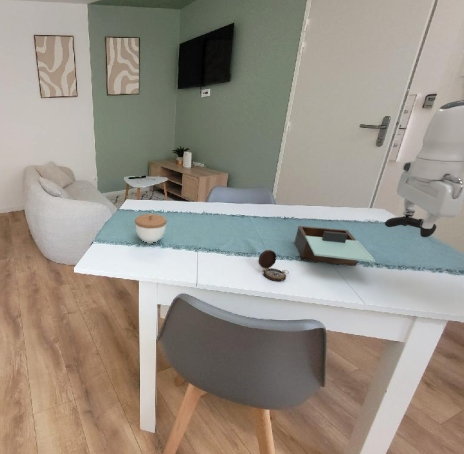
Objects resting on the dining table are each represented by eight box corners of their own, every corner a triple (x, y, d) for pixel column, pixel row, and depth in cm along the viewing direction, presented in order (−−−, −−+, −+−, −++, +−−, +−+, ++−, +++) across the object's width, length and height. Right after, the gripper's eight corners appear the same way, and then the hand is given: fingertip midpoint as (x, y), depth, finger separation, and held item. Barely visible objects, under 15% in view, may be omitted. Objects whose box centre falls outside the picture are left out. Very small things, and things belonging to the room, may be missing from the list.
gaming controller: (382, 223, 82) (397, 207, 82) (386, 233, 85) (400, 217, 84) (426, 235, 74) (443, 217, 73) (429, 246, 76) (446, 229, 76)
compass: (273, 283, 88) (277, 262, 85) (255, 270, 95) (258, 250, 92) (295, 278, 90) (300, 258, 87) (276, 266, 97) (280, 246, 94)
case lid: (357, 242, 94) (361, 232, 93) (375, 262, 83) (379, 251, 81) (305, 237, 100) (307, 227, 98) (314, 255, 88) (317, 244, 87)
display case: (342, 247, 106) (347, 230, 104) (355, 266, 94) (362, 247, 92) (294, 242, 112) (298, 225, 109) (301, 259, 100) (306, 241, 97)
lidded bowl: (132, 234, 126) (132, 211, 121) (160, 232, 127) (161, 208, 122) (138, 247, 114) (138, 222, 110) (169, 244, 115) (171, 219, 111)
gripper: (485, 180, 63) (457, 238, 68) (429, 162, 80) (411, 210, 85) (446, 179, 65) (422, 235, 70) (400, 162, 82) (384, 208, 88)
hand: (415, 221), depth 78 cm, fingers closed on gaming controller, 7 cm apart
